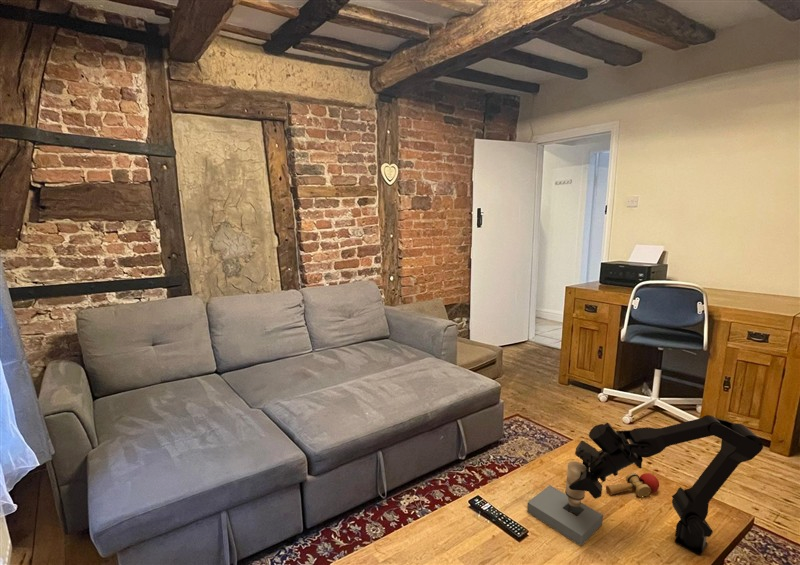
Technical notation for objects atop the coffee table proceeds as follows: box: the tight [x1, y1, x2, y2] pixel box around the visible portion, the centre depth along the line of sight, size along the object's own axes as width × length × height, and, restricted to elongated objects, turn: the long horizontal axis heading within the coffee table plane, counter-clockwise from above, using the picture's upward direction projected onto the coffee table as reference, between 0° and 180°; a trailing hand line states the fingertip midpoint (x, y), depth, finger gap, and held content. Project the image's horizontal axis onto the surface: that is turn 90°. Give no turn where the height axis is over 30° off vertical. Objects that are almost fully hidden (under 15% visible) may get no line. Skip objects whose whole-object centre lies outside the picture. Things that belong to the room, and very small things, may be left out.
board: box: [526, 484, 604, 547], centre depth 131 cm, size 18×13×4 cm
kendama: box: [605, 472, 660, 498], centre depth 143 cm, size 8×6×18 cm
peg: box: [564, 461, 587, 507], centre depth 129 cm, size 6×6×12 cm
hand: (570, 482), depth 130 cm, fingers closed on peg, 5 cm apart
